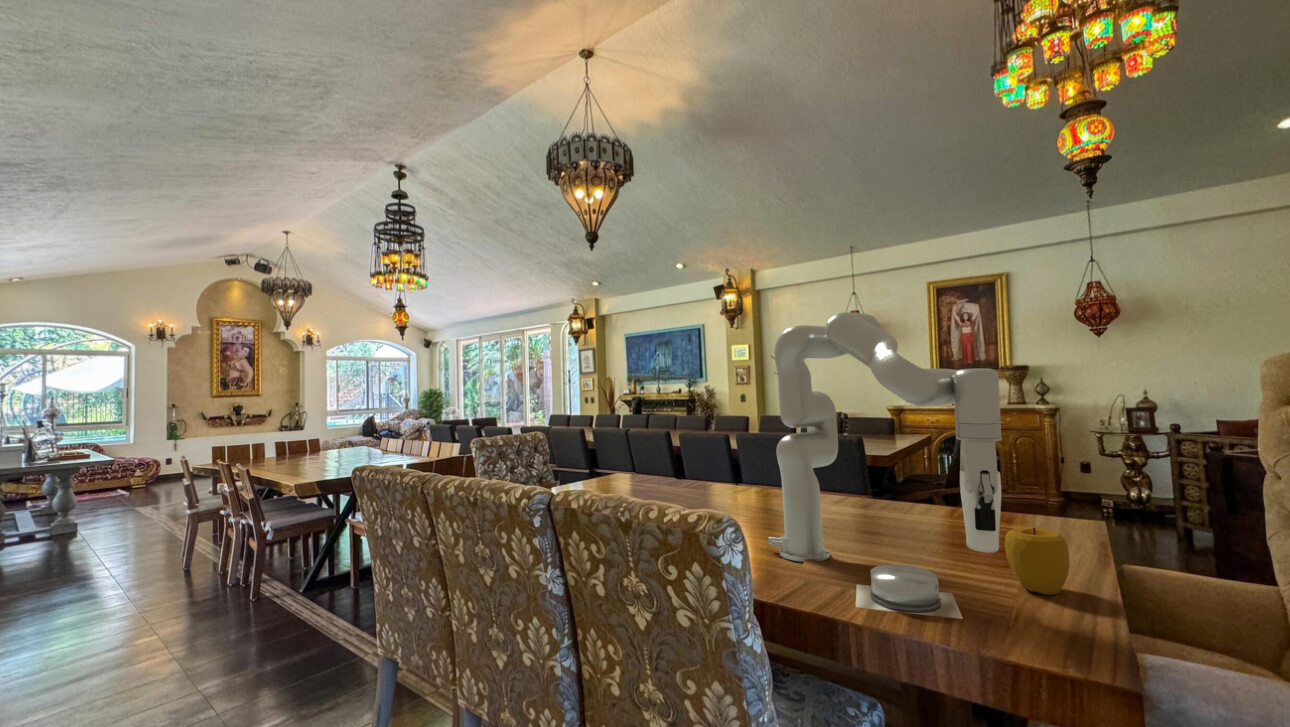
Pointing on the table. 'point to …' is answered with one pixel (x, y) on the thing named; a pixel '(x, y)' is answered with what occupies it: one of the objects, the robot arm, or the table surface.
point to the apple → (1038, 559)
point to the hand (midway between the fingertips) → (981, 524)
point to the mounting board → (946, 610)
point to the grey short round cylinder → (905, 588)
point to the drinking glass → (974, 537)
